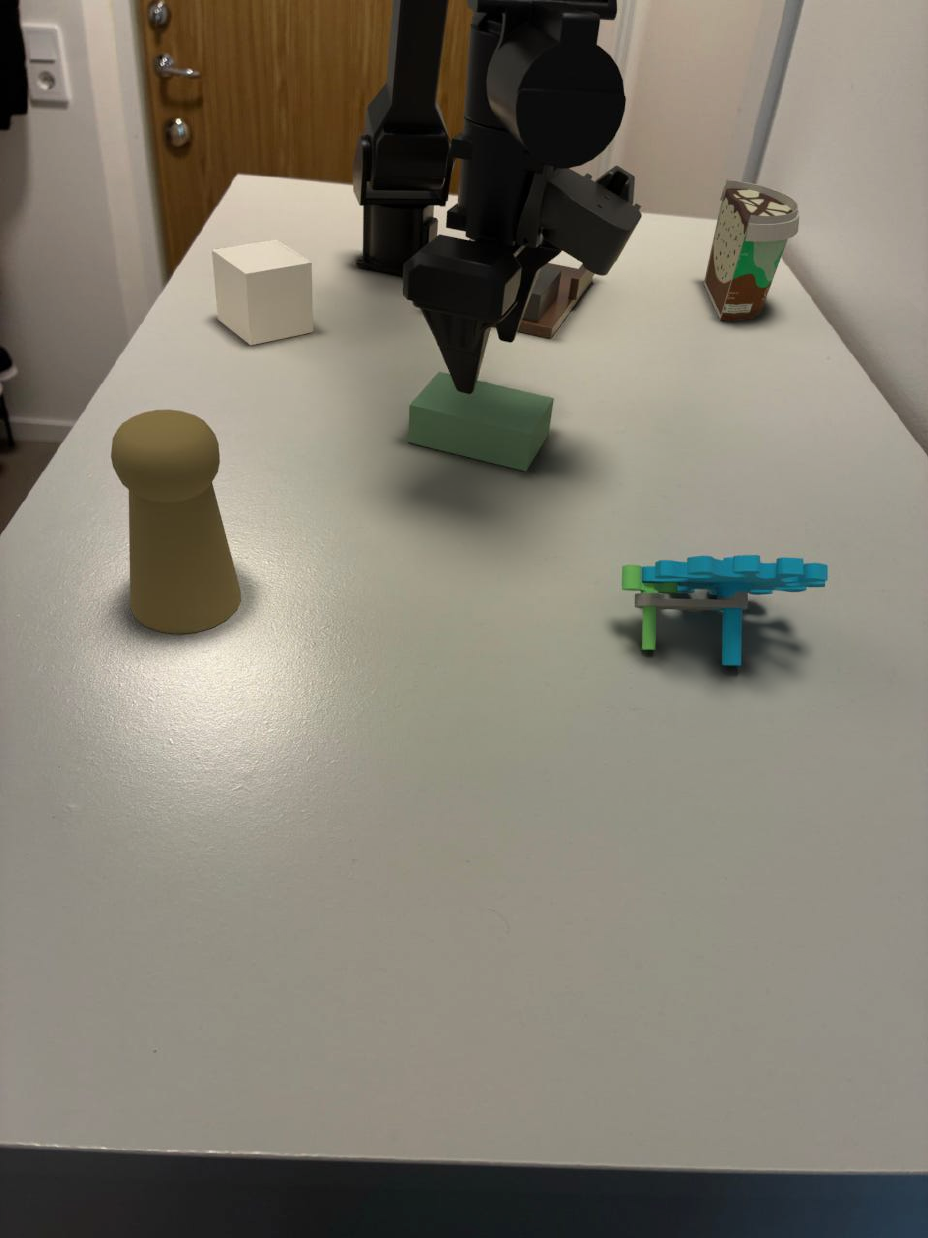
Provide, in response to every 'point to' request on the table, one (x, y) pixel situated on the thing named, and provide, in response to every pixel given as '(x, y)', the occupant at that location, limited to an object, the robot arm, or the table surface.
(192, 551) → the cork
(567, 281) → the frame
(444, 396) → the sage pad
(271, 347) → the table surface
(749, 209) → the food container
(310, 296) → the cream cube
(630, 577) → the gear
